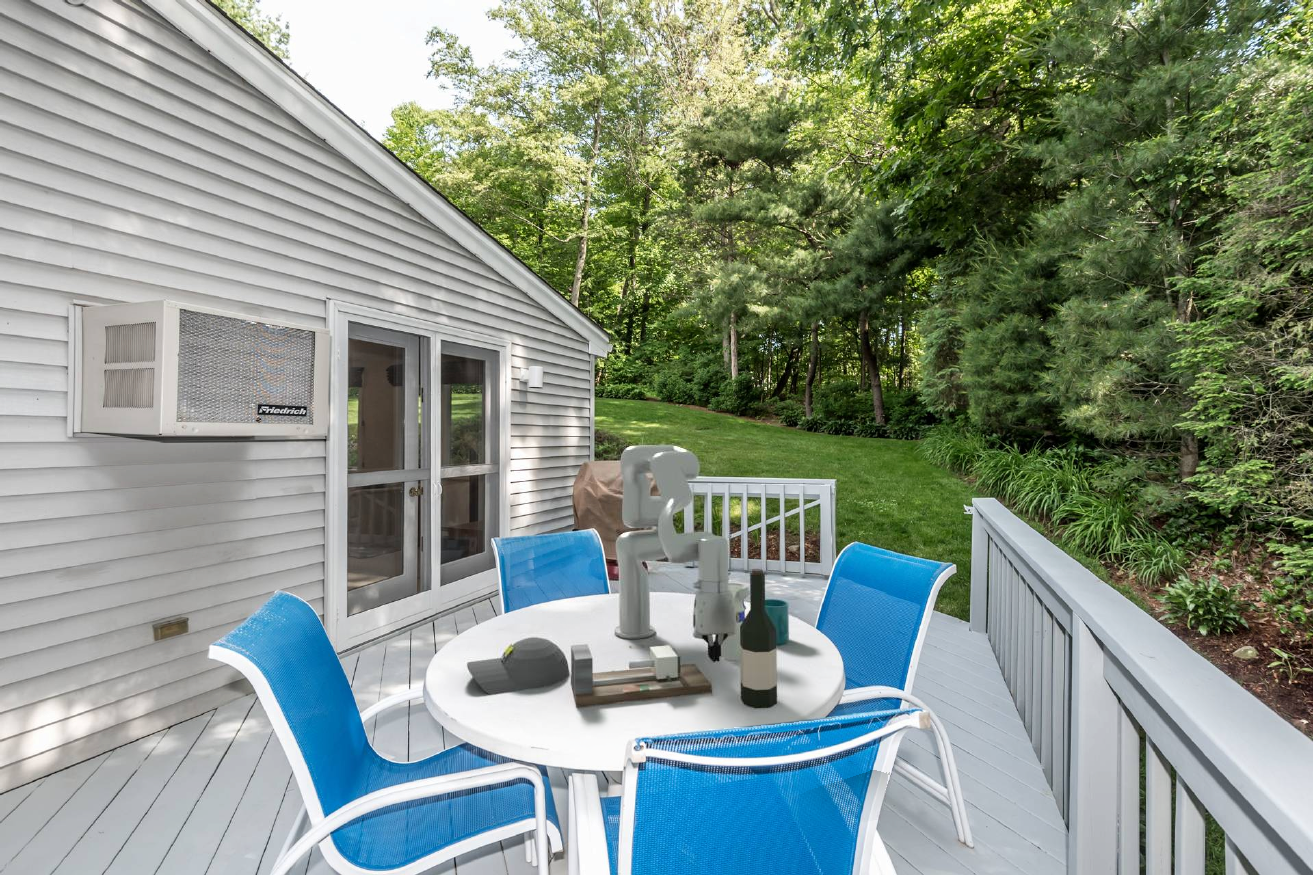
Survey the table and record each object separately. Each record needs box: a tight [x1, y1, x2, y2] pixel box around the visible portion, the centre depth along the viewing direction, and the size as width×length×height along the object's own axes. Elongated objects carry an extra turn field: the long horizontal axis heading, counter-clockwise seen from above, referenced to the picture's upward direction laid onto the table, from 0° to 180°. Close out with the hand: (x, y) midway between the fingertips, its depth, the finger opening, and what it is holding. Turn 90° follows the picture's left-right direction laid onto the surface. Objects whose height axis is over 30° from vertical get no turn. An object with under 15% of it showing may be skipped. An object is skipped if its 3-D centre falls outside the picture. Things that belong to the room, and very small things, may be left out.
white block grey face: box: [628, 644, 682, 682], centre depth 146 cm, size 10×12×5 cm
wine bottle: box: [739, 568, 778, 709], centre depth 139 cm, size 8×8×30 cm
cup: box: [765, 598, 790, 646], centre depth 179 cm, size 9×12×11 cm
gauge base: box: [570, 643, 713, 708], centre depth 147 cm, size 14×32×10 cm, turn 103°
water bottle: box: [720, 571, 750, 661], centre depth 168 cm, size 8×9×25 cm
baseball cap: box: [466, 636, 570, 695], centre depth 155 cm, size 19×26×12 cm
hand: (714, 659), depth 151 cm, fingers closed
